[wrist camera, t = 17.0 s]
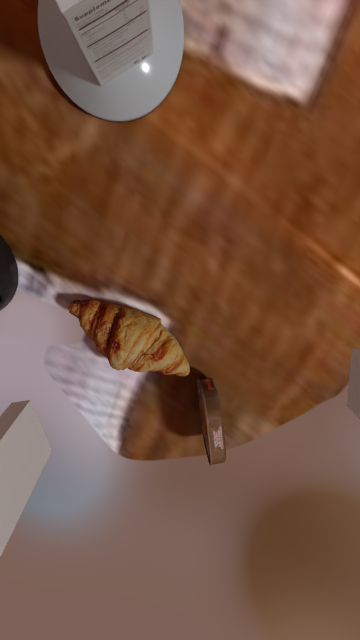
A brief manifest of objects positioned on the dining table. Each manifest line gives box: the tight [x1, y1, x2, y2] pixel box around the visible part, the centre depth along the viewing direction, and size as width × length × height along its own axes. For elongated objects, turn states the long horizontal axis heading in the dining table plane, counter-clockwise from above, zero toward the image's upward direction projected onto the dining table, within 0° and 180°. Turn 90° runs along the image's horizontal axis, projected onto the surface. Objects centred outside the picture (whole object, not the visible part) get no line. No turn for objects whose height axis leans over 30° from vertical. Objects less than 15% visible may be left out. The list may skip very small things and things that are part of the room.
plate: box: [38, 0, 184, 123], centre depth 31 cm, size 16×16×1 cm
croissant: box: [69, 300, 190, 376], centre depth 42 cm, size 21×10×8 cm, turn 56°
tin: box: [197, 378, 226, 465], centre depth 45 cm, size 15×3×8 cm, turn 7°
